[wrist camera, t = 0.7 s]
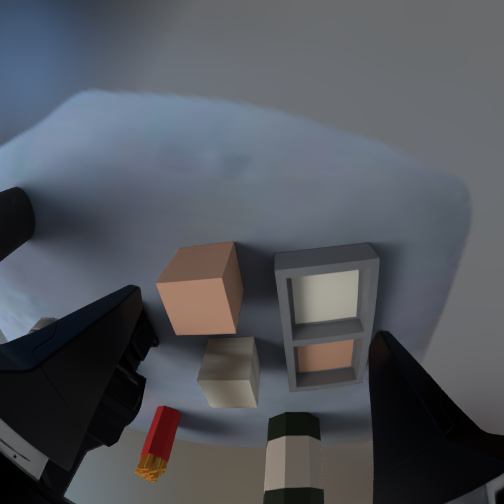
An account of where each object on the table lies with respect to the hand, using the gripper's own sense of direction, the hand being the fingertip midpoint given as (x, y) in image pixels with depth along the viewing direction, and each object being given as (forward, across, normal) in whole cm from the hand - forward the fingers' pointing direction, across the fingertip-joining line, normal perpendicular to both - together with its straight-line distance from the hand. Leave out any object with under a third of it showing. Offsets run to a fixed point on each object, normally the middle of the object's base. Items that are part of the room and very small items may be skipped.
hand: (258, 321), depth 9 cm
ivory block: (+13, +1, +18) cm, 22 cm away
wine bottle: (+13, -9, +33) cm, 37 cm away
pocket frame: (+14, -7, +11) cm, 19 cm away
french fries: (+12, +11, +38) cm, 41 cm away
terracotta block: (+13, +5, +7) cm, 16 cm away
